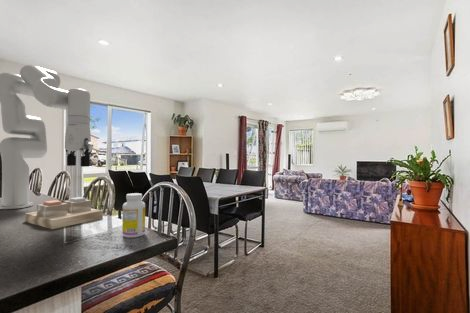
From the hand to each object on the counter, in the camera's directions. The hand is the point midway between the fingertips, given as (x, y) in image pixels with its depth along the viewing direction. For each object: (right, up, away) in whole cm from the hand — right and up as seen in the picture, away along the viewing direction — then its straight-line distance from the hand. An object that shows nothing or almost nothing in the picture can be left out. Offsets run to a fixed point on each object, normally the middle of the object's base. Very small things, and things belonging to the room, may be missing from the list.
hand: (78, 165), depth 102 cm
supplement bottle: (+29, -21, -20) cm, 41 cm away
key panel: (-3, -20, -4) cm, 21 cm away
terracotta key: (-5, -16, -8) cm, 18 cm away
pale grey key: (0, -16, 0) cm, 16 cm away
